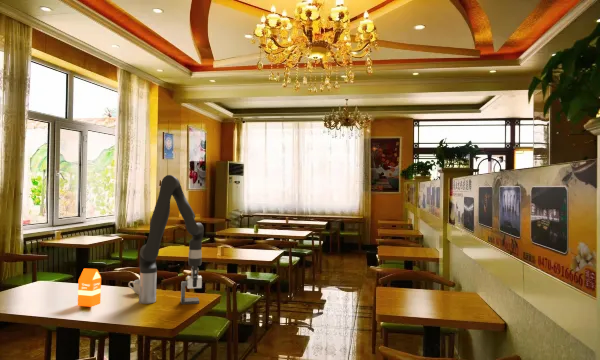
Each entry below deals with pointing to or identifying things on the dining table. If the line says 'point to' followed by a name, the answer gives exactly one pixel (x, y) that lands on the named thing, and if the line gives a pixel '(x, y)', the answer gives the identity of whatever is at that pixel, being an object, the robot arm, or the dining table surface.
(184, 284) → the stand
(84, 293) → the orange juice
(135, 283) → the teacup
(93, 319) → the dining table surface
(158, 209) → the robot arm
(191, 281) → the white rounded block
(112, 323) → the dining table surface
